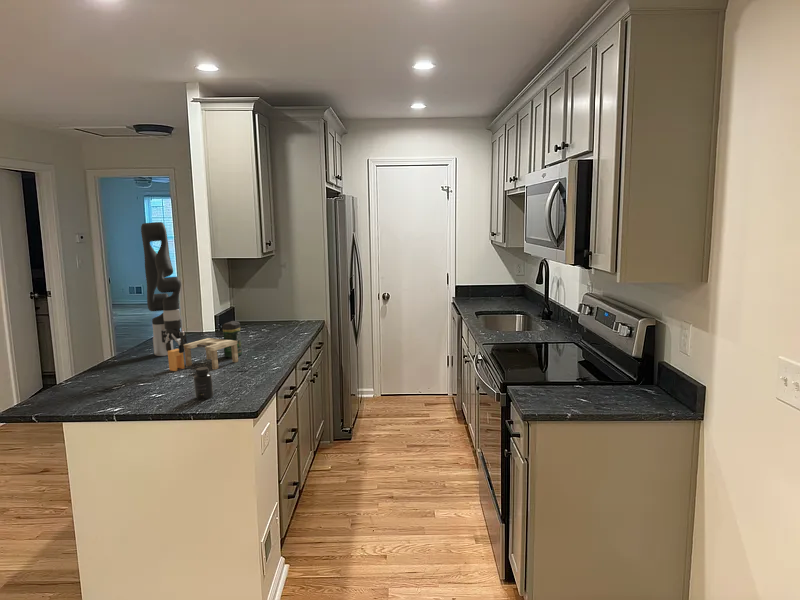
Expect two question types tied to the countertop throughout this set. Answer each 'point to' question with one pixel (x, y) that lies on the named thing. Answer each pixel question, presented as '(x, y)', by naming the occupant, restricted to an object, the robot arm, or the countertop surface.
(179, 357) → the tan wooden post
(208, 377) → the supplement bottle
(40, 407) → the countertop surface
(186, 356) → the cream u-shaped stand
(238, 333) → the coffee jar
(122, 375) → the countertop surface
